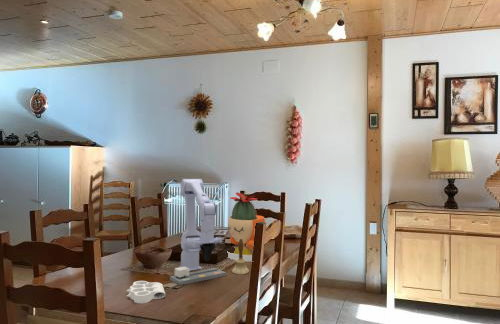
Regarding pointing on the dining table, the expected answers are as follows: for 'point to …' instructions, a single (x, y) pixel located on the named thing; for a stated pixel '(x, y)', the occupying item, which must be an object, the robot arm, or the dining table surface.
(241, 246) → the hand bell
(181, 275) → the white block
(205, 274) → the selector board
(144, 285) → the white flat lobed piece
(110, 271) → the dining table surface
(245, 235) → the potted cactus
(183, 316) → the dining table surface
